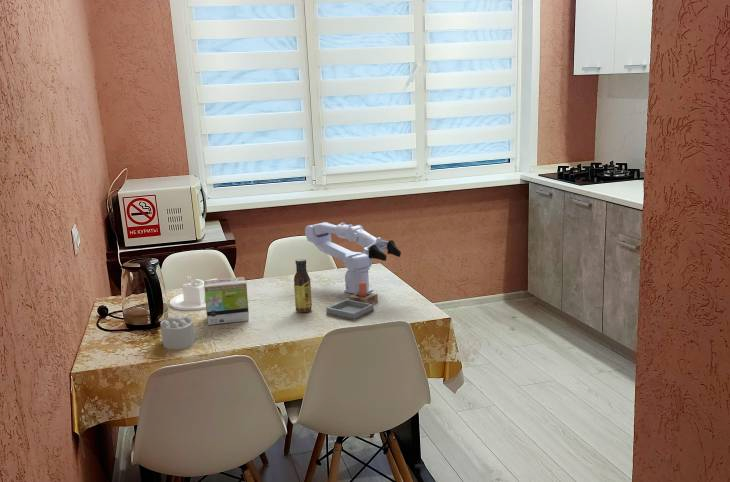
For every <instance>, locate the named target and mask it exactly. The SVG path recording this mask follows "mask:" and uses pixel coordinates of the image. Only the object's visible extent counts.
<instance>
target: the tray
mask: <svg viewBox="0 0 730 482" xmlns="http://www.w3.org/2000/svg"><path fill="white" fill-rule="evenodd" d="M374 309H375V307H374V303H373V304H368V303H363V302H358V301H353V300H349V298H348V299H347V298H346V299H344V300H340V301H339V302H337V303H334V304H332V305H330V306H328V307H326V310H325V312H326V315H329V316H334V317H338V318H343V319H346V320H350V321H351V320H352V321H355V320H357V319H360V318H362V317H365V316H366V315H369V314H370V313H372V312H374V311H375V310H374Z"/></svg>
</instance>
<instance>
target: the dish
mask: <svg viewBox="0 0 730 482" xmlns="http://www.w3.org/2000/svg"><path fill="white" fill-rule="evenodd" d="M186 278H187V279H188V281H189V283H184V284H181V286H182V287H181V289H182V293H180V294H178V295H176V296H173V297H172V298H171V299H169V300H170V301H169V306H170V307H171V308H172V309H176V310H179V311H190V312H191V311H202V310H203V311H204V310H206V300H205V288H204V281H207V280H208V279H207V280H202V279H200V278H199V279H198V278H196V279H194V278H193V277H192V276H190V275H189V274H186ZM217 279H218V278H211V279H209V280H217Z"/></svg>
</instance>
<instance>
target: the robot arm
mask: <svg viewBox="0 0 730 482" xmlns="http://www.w3.org/2000/svg"><path fill="white" fill-rule="evenodd" d="M332 234H335V235H336V237H338V238H342V239H346V240H347V241H348V242H350V243H351V242H354V243H357V244H358V245H360V246H362V247H363V251H362V252H359V251H352V250H350V249H347V248H345V247H343V246H341V245H339V244H336V243H334V242H332ZM304 235H305V237H306V240H307V242H310V243H313V245H314V246H315V247H316V248H317V249H318V250H319V251H320V252H322V253H324V254H326V255H329V256H330V257H332V258H335V259H337V260H339V261H341V262H343V266H344V267H345V268H347V270H346V272H345V274H344V275H345V276H344V283H345V290H344V292H345V293H348V294H349V293H350V294H356V293H358V292H359V282H366V286H367V292H369V293H372V291H374V288H371V287H370V281H369V279H370V277H369V270H370V268H371V266H372V264H373V260H374V259H375V260H379V261H383V262H384V261H387V257H388V256H387V254H389V255H393V256H395V257H401V256H402V252H401V250H400V249H399V248H398V247H397V245H396V243H395V241H394V240H392V239H390V240H388V241H387V240H383V239H382V238H381V237H380V236H379V237H376V236H374V235H373V234H370V233H369V232H367V231H366V230H365V229H364V226H363V225H361V224H357V225H353V224H346V222H340V223H338V224H337V225H335V224H333V223H330V222H327V221H326V222H325V221H323V222H320V223H315V224H310V225H308V224H307V225H306V227H305V228H304ZM385 250H386V251H387V254H385V253H384V252H383V251H385Z"/></svg>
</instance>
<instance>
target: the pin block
mask: <svg viewBox="0 0 730 482" xmlns="http://www.w3.org/2000/svg"><path fill="white" fill-rule="evenodd" d="M348 300H353V301H358V302H363V303H368V304H373V305H374V304H375V303H378V301H379V300H378V294H377V293H374V292H367V297H359V292H358V293H356V294H354V293H352V295H349V296H348Z"/></svg>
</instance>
